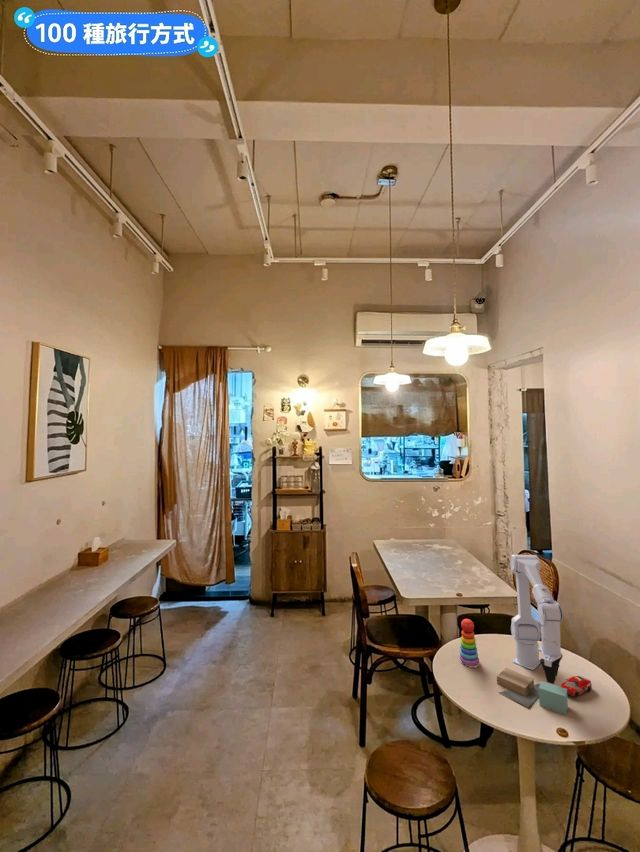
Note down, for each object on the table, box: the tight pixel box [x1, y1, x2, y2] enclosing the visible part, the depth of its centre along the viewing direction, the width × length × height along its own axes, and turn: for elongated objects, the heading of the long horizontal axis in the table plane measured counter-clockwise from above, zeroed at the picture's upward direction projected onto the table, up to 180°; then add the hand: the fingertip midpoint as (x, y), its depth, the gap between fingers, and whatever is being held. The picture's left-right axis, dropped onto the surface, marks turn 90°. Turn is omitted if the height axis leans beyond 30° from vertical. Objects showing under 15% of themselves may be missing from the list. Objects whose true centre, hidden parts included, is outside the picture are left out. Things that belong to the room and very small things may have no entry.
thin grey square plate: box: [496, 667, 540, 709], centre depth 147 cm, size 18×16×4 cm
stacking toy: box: [459, 618, 480, 668], centre depth 162 cm, size 8×8×19 cm
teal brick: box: [538, 680, 569, 715], centre depth 137 cm, size 5×8×6 cm, turn 54°
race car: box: [560, 675, 593, 698], centre depth 144 cm, size 13×5×4 cm, turn 116°
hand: (552, 678), depth 137 cm, fingers open, 5 cm apart
